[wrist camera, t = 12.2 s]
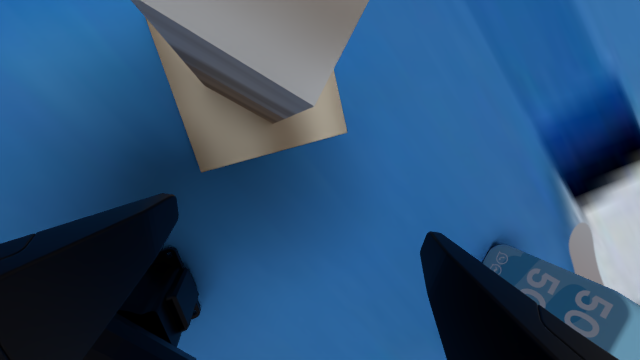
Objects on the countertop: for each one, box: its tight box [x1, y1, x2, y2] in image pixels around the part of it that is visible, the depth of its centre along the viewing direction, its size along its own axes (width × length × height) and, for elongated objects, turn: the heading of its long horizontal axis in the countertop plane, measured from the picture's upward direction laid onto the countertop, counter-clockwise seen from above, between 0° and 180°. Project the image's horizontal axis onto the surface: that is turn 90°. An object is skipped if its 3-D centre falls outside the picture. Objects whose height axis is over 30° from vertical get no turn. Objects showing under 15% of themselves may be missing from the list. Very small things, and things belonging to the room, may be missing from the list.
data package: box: [483, 245, 640, 360], centre depth 26 cm, size 12×4×12 cm, turn 150°
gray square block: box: [131, 0, 369, 124], centre depth 12 cm, size 5×5×12 cm
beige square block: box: [145, 17, 347, 172], centre depth 19 cm, size 11×11×3 cm
